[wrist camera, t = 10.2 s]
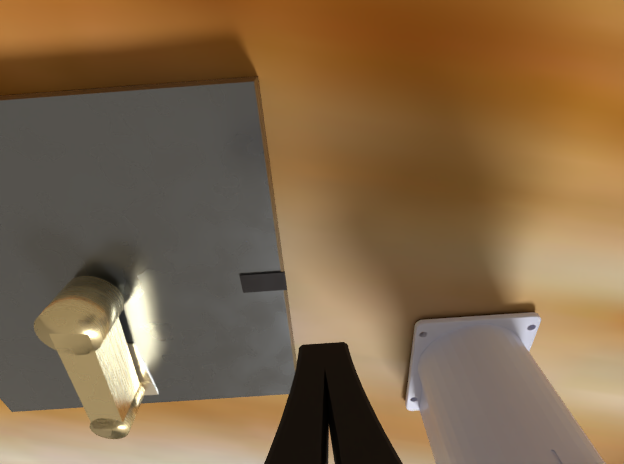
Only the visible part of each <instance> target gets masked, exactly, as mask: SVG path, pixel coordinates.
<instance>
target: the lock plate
mask: <svg viewBox="0 0 624 464" xmlns="http://www.w3.org/2000/svg"><path fill="white" fill-rule="evenodd" d="M80 276H94V277H98V278H101V279H104V280H106V281H108V282H110V283H112V284H113V285H114V286H116V287H117V288H118V289H119V290H120V292H121V293H122V295H123V297H124V301H125V305H124V309H123V310H122V312H121V314H120V315H119V320H120V323H121V327H122V330H123V333H124V336H125V339H126V343H127V346H128V349H129V352H130V355H131V358H132V362H133V365H134V368H135V371H136V374H137V377H138V381H139V384H140V385H141V386H142V387H143V388H144V390H145V395H144V397H143V400H142V402H141V403H156V402H171V401H187V400H202V399H218V398H233V397H249V396H264V395H280V394H289V393H290V390H291V386H292V382H293V379H294V375H295V370H296V366H297V362H296V354H295V347H294V339H293V332H292V325H291V317H290V310H289V302H288V295H287V286H286V278H285V271H284V265H283V258H282V250H281V243H280V236H279V228H278V221H277V213H276V206H275V198H274V191H273V184H272V176H271V169H270V161H269V154H268V147H267V139H266V132H265V124H264V117H263V109H262V102H261V95H260V87H259V80H258V76H254V77H241V78H227V79H214V80H201V81H187V82H174V83H161V84H147V85H134V86H121V87H108V88H94V89H81V90H68V91H54V92H41V93H28V94H14V95H1V96H0V399H1V400H2V401H3V402H4V403H5V404H6V406H7V407H8V408H9V409H10V410H11V411H12V412H16V411H32V410H47V409H63V408H78V407H83V405H82V403H81V400H80V398H79V396H78V394H77V392H76V390H75V388H74V386H73V384H72V381H71V379H70V377H69V375H68V373H67V371H66V369H65V367H64V364H63V362H62V360H61V358H60V356H59V354H58V352H57V351H56V350H54V349H52V348H50V347H49V346H47V345H46V344H44V343H43V342H42V341H41V340H40V339H39V338H38V336H37V335H36V333H35V330H34V322H35V320H36V318H37V317H38V316H39V315H40V314H41V313H42V311H43V310H44V309H45V308H46V307H47V306H48V305H49V304H50V302H51V301H52V300H53V299H54V298H55V297H56V296H57V295H58V293H59V292H60V291H61V290H62V289H63V288H64V287H65V286H66V284H67V283H68V282H69V281H70V280H72V279H74V278H76V277H80Z"/></svg>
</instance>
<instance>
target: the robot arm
mask: <svg viewBox="0 0 624 464" xmlns="http://www.w3.org/2000/svg"><path fill="white" fill-rule="evenodd" d="M540 322H541V318H540V316H539V315H538V314H537V313H535V312H529V313H514V314H499V315H484V316H469V317H454V318H439V319H424V320H419V321H418V322H417V323H416V324H415V328H414V336H413V344H412V352H411V360H410V368H409V376H408V384H407V392H406V401H405V405H406V409H408V410H410V411H415V410H420V413H421V416H422V419H423V423H424V426H425V429H426V432H427V436H428V439H429V442H430V446H431V449H432V452H433V455H434V459H435V462H436V464H606V463H605V462H604V461H603V459H602V458H601V456H600V455H599V453H598V452H597V450H596V449H595V447H594V446H593V445H592V443H591V442H590V440H589V439H588V437H587V436H586V434H585V433H584V431H583V430H582V428H581V427H580V426H579V424H578V423H577V421H576V420H575V418H574V417H573V415H572V414H571V412H570V411H569V410H568V408H567V407H566V405H565V404H564V402H563V401H562V399H561V398H560V396H559V395H558V394H557V392H556V391H555V389H554V388H553V386H552V385H551V383H550V382H549V380H548V379H547V377H546V376H545V375H544V373H543V372H542V370H541V369H540V367H539V366H538V364H537V363H536V361H535V360H534V359H533V357H532V356H531V354H530V353H529V351H530V348H531V345H532V343H533V340H534V338H535V335H536V332H537V330H538V327H539V325H540ZM421 332H422V333H421ZM329 428H330V435H331V441H332V448H333V455H334V461H335V464H403V463H402V462H401V460H400V458H399V457H398V455H397V453H396V451H395V450H394V448H393V446H392V444H391V443H390V441H389V439H388V437H387V435H386V434H385V432H384V430H383V428H382V426H381V424H380V422H379V420H378V418H377V416H376V414H375V412H374V410H373V408H372V406H371V404H370V402H369V400H368V398H367V396H366V394H365V391H364V389H363V387H362V385H361V382H360V380H359V377H358V375H357V373H356V370H355V367H354V365H353V362H352V359H351V356H350V352H349V349H348V345H347V344H346V343H344V342H339V343H324V344H309V345H302V346H301V347H299V353H298V360H297V366H296V370H295V375H294V379H293V382H292V386H291V390H290V393H289V396H288V400H287V403H286V406H285V409H284V412H283V415H282V418H281V421H280V424H279V427H278V429H277V432H276V435H275V437H274V440H273V443H272V445H271V448H270V451H269V453H268V456H267V458H266V461H265V463H264V464H328V440H329Z"/></svg>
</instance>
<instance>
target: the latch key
mask: <svg viewBox="0 0 624 464" xmlns="http://www.w3.org/2000/svg"><path fill="white" fill-rule="evenodd" d="M124 305H125V301H124V297H123V295H122V293H121V292H120V290H119V289H118V288H117V287H116V286H114V285H113V284H112V283H110V282H108V281H106V280H104V279H101V278H98V277H94V276H80V277H76V278H74V279H72V280H70V281H69V282H68V283H67V284H66V286H65V287H64V288H63V289H62V290H61V291H60V292H59V293H58V295H57V296H56V297H55V298H54V299H53V300H52V301H51V302H50V304H49V305H48V306H47V307H46V308H45V309H44V310H43V311H42V313H41V314H40V315H39V316H38V317H37V318H36V320H35V322H34V330H35V333H36V335H37V336H38V338H39V339H40V340H41V341H42V342H43V343H44V344H46V345H47V346H49V347H50V348H52V349H54V350H56V351H57V352H58V354H59V356H60V358H61V360H62V362H63V364H64V367H65V369H66V371H67V373H68V375H69V377H70V379H71V381H72V384H73V386H74V388H75V390H76V392H77V394H78V396H79V398H80V400H81V403H82V405H83V407H84V409H85V411H86V413H87V415H88V417H89V419H90V422H91V423H90V429H91V430H92V432H94V433H95V434H96V435H98V436H101V437H104V438H108V439H119V438H123V437H125V436H127V435H128V433H129V431H130V429H131V426H132V424H133V421H134V419H135V417H136V414H137V412H138V409H139V407H140V405H141V402H142V400H143V397H144V395H145V390H144V388H143V387H142V386H141V385H140V384H139V381H138V377H137V374H136V371H135V368H134V365H133V362H132V358H131V355H130V352H129V349H128V346H127V343H126V339H125V336H124V333H123V330H122V327H121V323H120V320H119V315H120V314H121V312H122V310H123V309H124Z"/></svg>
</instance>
